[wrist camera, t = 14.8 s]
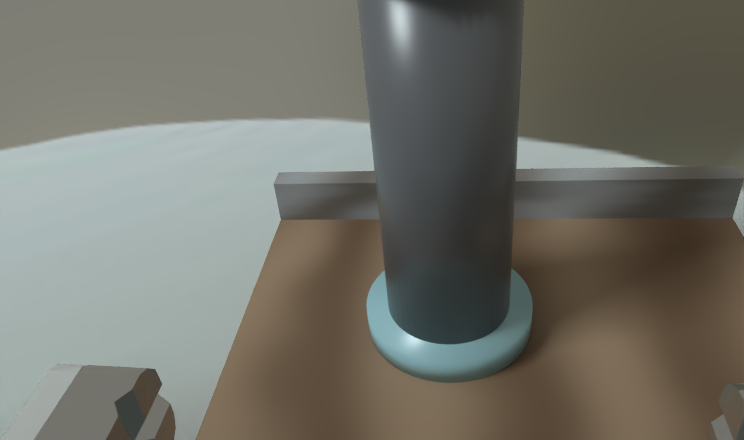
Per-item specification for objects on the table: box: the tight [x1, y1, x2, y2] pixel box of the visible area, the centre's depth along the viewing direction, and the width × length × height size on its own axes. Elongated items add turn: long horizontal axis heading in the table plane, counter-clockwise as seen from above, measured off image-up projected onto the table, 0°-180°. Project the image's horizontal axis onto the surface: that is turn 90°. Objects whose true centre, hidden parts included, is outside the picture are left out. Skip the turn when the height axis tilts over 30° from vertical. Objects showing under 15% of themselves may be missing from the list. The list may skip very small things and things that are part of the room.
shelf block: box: [196, 166, 744, 440], centre depth 25 cm, size 20×14×6 cm
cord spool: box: [358, 0, 533, 383], centre depth 20 cm, size 6×6×14 cm
